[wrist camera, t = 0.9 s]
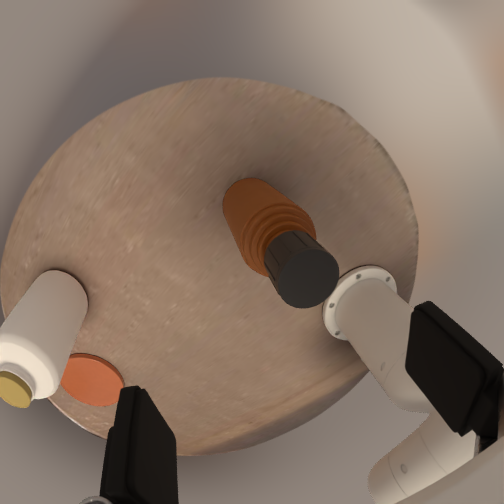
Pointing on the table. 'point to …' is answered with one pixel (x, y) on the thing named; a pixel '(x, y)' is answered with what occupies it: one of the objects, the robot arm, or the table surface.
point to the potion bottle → (40, 338)
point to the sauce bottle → (261, 218)
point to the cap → (301, 269)
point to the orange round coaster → (92, 380)
